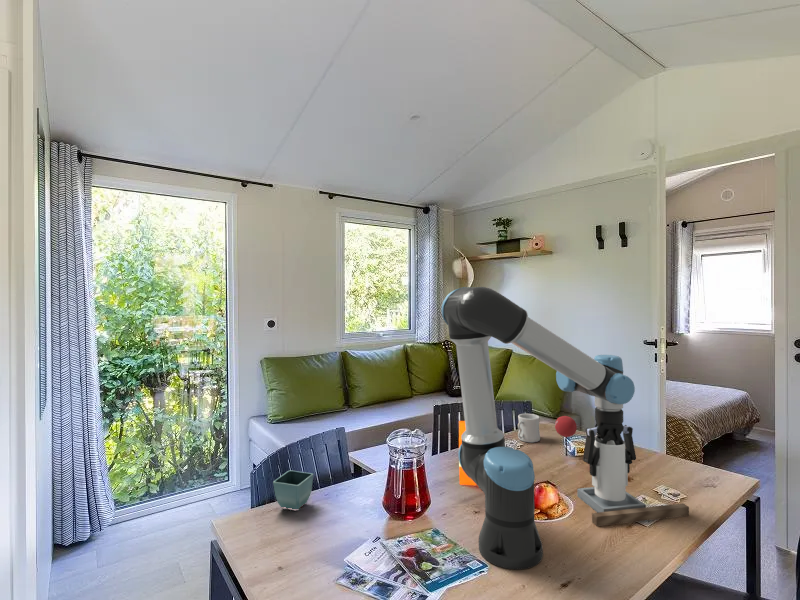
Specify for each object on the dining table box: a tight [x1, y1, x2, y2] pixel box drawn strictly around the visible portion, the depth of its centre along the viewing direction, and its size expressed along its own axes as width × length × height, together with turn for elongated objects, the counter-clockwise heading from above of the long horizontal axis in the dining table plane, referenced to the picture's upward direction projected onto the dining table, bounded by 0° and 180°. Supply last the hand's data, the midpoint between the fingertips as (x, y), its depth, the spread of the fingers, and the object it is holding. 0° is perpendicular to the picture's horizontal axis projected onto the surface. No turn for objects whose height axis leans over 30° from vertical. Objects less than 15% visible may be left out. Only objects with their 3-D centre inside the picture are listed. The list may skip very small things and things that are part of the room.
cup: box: [594, 436, 627, 501], centre depth 128 cm, size 8×8×16 cm
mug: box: [517, 413, 541, 443], centre depth 184 cm, size 12×9×10 cm
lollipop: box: [554, 415, 578, 456], centre depth 166 cm, size 8×8×15 cm
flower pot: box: [272, 469, 314, 510], centre depth 130 cm, size 9×9×9 cm
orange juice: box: [458, 420, 478, 487], centre depth 146 cm, size 8×9×20 cm
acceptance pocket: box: [576, 486, 647, 513], centre depth 128 cm, size 13×13×2 cm
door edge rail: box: [591, 503, 690, 527], centre depth 119 cm, size 28×2×2 cm, turn 99°
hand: (609, 485), depth 128 cm, fingers closed on cup, 8 cm apart
